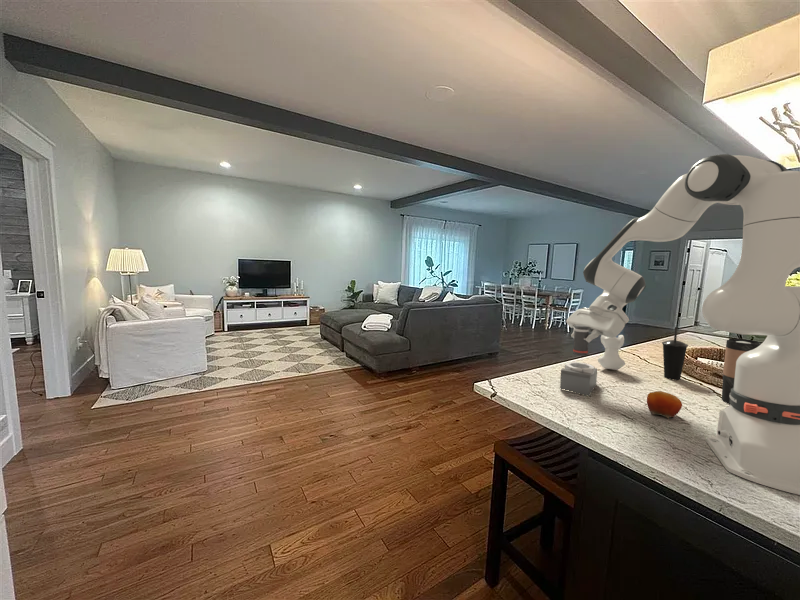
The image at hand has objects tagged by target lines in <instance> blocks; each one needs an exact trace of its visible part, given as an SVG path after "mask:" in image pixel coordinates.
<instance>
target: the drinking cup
mask: <svg viewBox="0 0 800 600" xmlns="http://www.w3.org/2000/svg"><path fill="white" fill-rule="evenodd" d="M677 335H678V326H674V335H673V338H674V339H669V340H664V341H662V342H661V343H662V355H663V377H664V378H666V379H668V380H672V379H674V381H679V379H680V380H681V378H682V377H681V376H682V372H683V367H684V362H685V358H686V352H687V348H688V346H689V345H688V344H687V343H686V342H684V341H681V340H678V339H677Z"/></svg>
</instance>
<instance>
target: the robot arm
mask: <svg viewBox="0 0 800 600" xmlns="http://www.w3.org/2000/svg"><path fill="white" fill-rule="evenodd" d="M717 203H718V204H721V205H730V206H740V207H741V209H742V211H743V220H742V221H743V223H742V243H741V253H740V259H739V262H738V265H737V267H736V269H735V271H734V273H732V275H731V276H730V278H729V279H728V280H727V281H725V283H723V284H722V285H720V287H718V288H716V289H714V290H713V291H711V292H710V293H709V294H708V295H707V296H706V298H704V301H703V304H702V307H701V308H702V309H701V310H702V316H703V318H704V320H705V321H706V323H707V324H708V325H709V326H710V327H711V328H712V329H714V330H717V331H721V332H727V333H732V334H737V335H745V336H747V335H750V336H766V337H765V339H764V341H763V342H761V345H760V346H758V347H757V348H755V349H753V350H750V351H747V352H745V353H743V354H742V355H740V356H739V358H738V359H737V361H736V369H735V379H734V388H732V389H731V393H730V395H729V397H730V401H729V403H730V404H728V406H727V407H725V408H723V409H721V410H719V414H718V419H717V420H718V421H717V429H716V434H715V435H707V436H706V437H705V442H706V443H707V445H708V446H709V447H710V449H711V451H713V453H714V454H715V456H716V457H717V459H718V460H719V461H720V463H721V464H722V465H723V467H724V468H725V470H726V471H727V472H729V473H731V474H733V475H735V476H738V477H741V478H743V479H745V480H748V481H751V482H753V483H757V484H760V485H762V486H764V487H765V486H766V487H769V488H772V489H776V490H778V491H779V490H780V491H782V492H787V493H790V494H794V495H798V496H800V286H796V285H795V286H791V285H790V286H789V285H788V286H787V285H786V283H787V280H788V278H789V276H790V274H791V273H792V272H793V271H794V270H795V269H798V268H800V171H798V170H788V168H786V167H785V166H784V165H783V164H781V163H779V162H777V161H773V160H769V159H768V160H765V159H762V158H757V157H755V156H752V155H751V156H750V155H738V154H737V155H731V154H726V153H723V154H720V153H719V154H715V155H714V154H713V155H710V156H706V157H703V158H702V159H700V160H699V161H697V162H696V163H695V164H693V165H692V166H691V168H690V169H689V171H687V173H684V174H683V175H680V176H679V177H678V178H677V179H676V180H675V181H673V183H672V184H671V185H670V186H669V187H668V188H667V190H666V191H665V192H664V193H663V194H662V196H661V197H660V198H659V200H658V201H657V202H656V204H655V205H654V206H653V208H652V209H651V210H650V211H649V212H648V213H646V214H645V215H643V216H639V217H634V218H633V219H631V220H630V221H629V222H627V223H626V224H625V225H624V226H623V228H621V229H620V230H619V232H617V234H616V235H614V237H613V238H612V239H611V240H610V241H609V242H608V243H607V244H606V246H604V248H603V249H602V250H601V251H600V252H599V253H598V254H597V255H596V256H595V257H594V258H592V259H591V260H590V261H589V262H588V263H587V264H586V265H585V267H584V269H583V271H582V274H583V277H584V279H585V282H587V283H589V284H590V285H593V286H596V287H598V288H600V289H602V290H603V291H602V293H601V294H600V295H599V296H597V297H596V298H595V300H594V301H592V303H591V304H590V305H589V307H582V308H578V309H577V310H575V311H573V312H572V314H570V315H569V316H568V318H566V324H567V325H568V326H569V328H571V329H573V331H572V333H571V334H570V336H571V338H573V339H574V327H575V325H583V326H587V327H589V333H590V334H589V335H588V336H587V335H586V336H585V337H584V340H585V342H588V344H590V342H592V341H593V340H594V339H596V338H598V337H600V336H601V335H603V336H607V337H611V338H613V337H618V336H619V335H620V334H621V332H622V331H623V330H624V328H625V326H626V324H627V323H629V321H630V319H629V317H628V315H627V314H626V313H625V311H624V310H623V308H624V307H625V306H626V305H628V304H631V303H633V302H635V301H636V300H637V298H638V297H639V296H640V295H641V294H642V293H643V292H644V291H645V289H646V287H647V285H646V280H645V278H644V277H643V275H641V274H639V273H637V272H635V271H633V270H632V269H630V268H627V267H624V266H623V265H621V264H619V263H616V262H615V261H613V258H614V256H615V255H616V254H618V252H619V251H621V249H622V248H623V247H624V246H625V245H626V244H627V243H629V242H633V241H647V242H654V243H663V242H671V241H676V240H678V239H681V238H682V237H684V236H685V235H686V234H687V233H688V232H689V231H690V230H691V229H692V228H693V226H694V225H695V224H697V222H698V221H699V219H700V218H701V217H702V215H703V214H704V213H705V212H706V211H707V210H708V208H709V207H711V206H713V205H714V204H717Z"/></svg>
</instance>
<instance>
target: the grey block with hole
mask: <svg viewBox="0 0 800 600" xmlns="http://www.w3.org/2000/svg"><path fill="white" fill-rule="evenodd" d="M597 373H598V368H596V367H595V366H594V365H592V364H590V363H588V362H587V363H586V362H580V361H567V362H566V363H565V364H564V368H561V369H560V381H559V385H560V386H559V389H560V388H561V389H565V390H569V391H573V392H576V393H575V394H577V393H580V394H579V395H582V394H584V395H583V396H586V395H588V396H587V397H589V396H590V395H591V394H590V393H592V392H593V391H594V389H595V387H596V386H597V379H598V377H597V376H598V374H597ZM595 385H596V386H595ZM593 388H594V389H593Z"/></svg>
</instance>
